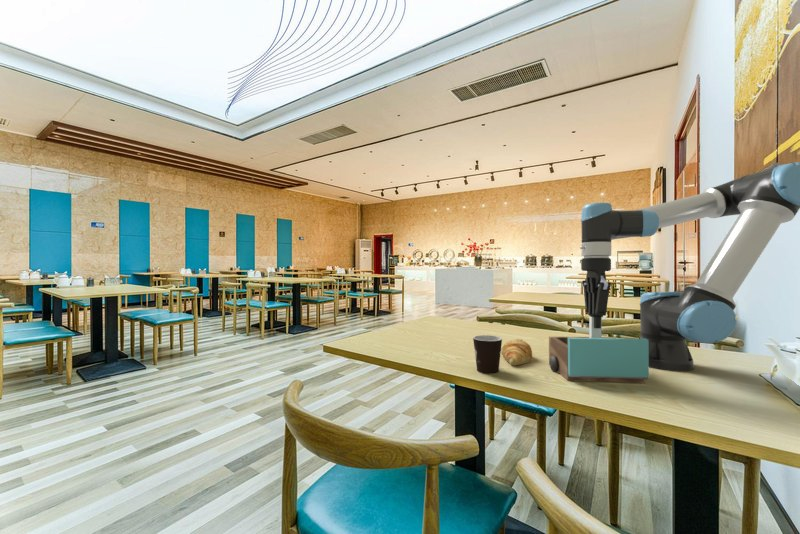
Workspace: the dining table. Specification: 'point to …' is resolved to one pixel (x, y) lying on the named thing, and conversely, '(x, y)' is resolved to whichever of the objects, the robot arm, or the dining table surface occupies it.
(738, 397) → the dining table surface
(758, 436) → the dining table surface
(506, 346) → the croissant
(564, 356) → the cart
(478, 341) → the coffee mug
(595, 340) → the tailgate
